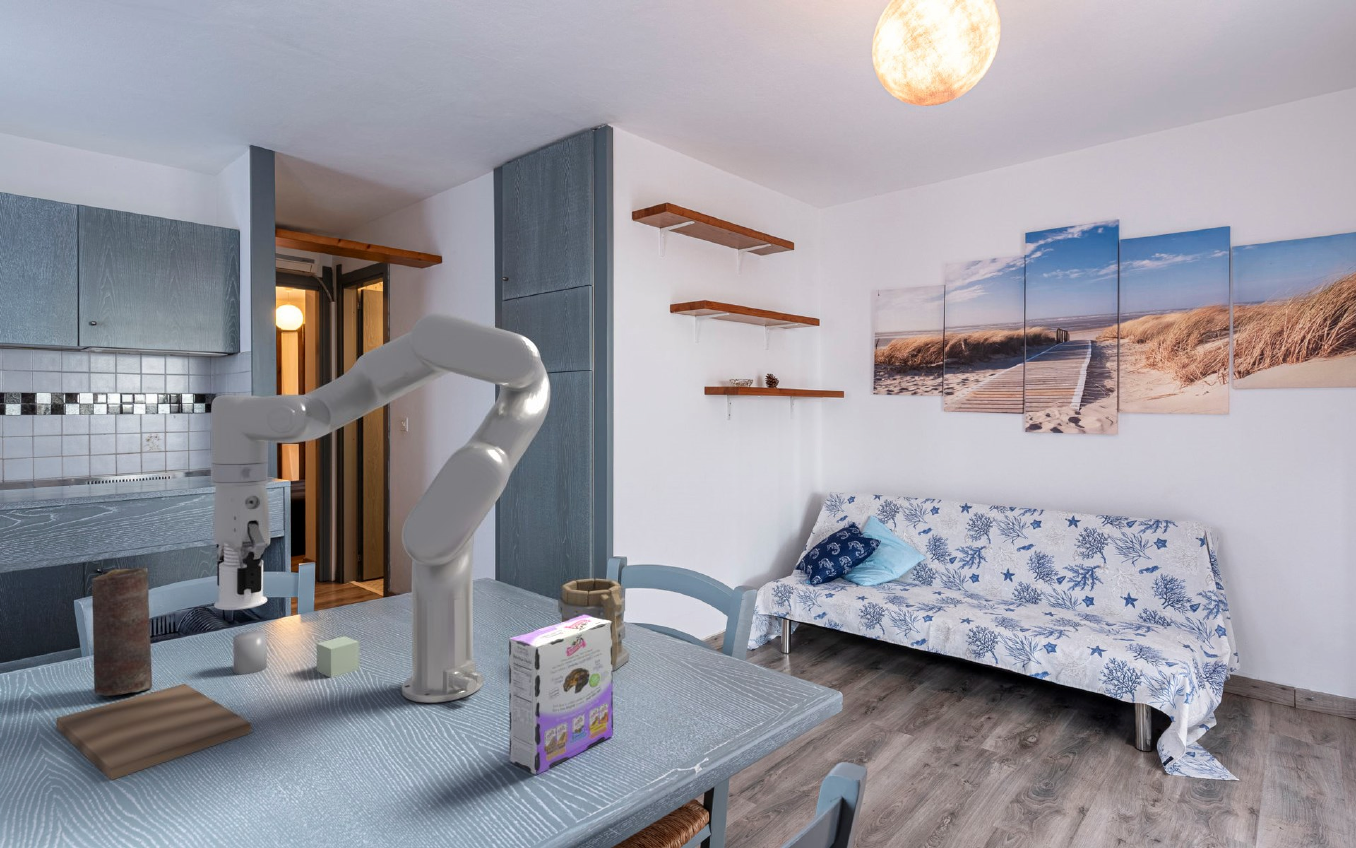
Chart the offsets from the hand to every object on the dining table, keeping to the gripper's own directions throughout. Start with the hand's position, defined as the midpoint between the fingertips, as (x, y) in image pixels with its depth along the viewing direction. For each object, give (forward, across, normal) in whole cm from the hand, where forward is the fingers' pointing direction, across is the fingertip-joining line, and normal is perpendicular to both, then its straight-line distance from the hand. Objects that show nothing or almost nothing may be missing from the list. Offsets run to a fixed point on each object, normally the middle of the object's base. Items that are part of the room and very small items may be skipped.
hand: (239, 588), depth 110 cm
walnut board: (+18, -1, +11) cm, 21 cm away
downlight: (+3, 0, 0) cm, 3 cm away
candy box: (+18, -51, -21) cm, 58 cm away
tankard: (+17, -33, -46) cm, 59 cm away
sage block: (+18, +2, -17) cm, 25 cm away
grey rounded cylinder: (+18, +15, -7) cm, 25 cm away
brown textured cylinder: (+19, +19, +10) cm, 29 cm away
